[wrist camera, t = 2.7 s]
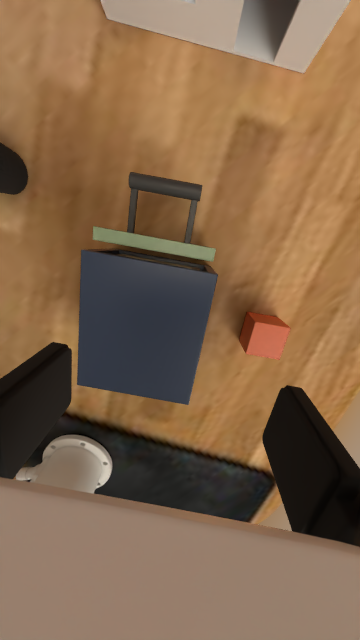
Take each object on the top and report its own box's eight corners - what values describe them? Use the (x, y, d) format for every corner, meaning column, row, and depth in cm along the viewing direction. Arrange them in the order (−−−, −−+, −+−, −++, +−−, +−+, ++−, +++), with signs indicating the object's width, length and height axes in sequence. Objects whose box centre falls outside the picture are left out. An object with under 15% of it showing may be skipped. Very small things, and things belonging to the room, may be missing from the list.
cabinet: (114, 248, 29) (81, 249, 21) (210, 266, 29) (218, 274, 21) (106, 348, 34) (77, 384, 25) (189, 364, 34) (188, 405, 25)
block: (268, 345, 32) (279, 360, 28) (238, 340, 32) (245, 353, 28) (277, 317, 31) (291, 328, 27) (246, 311, 31) (255, 321, 27)
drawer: (122, 181, 26) (96, 157, 19) (220, 199, 26) (230, 181, 19) (110, 331, 32) (87, 355, 25) (189, 345, 32) (188, 373, 25)
